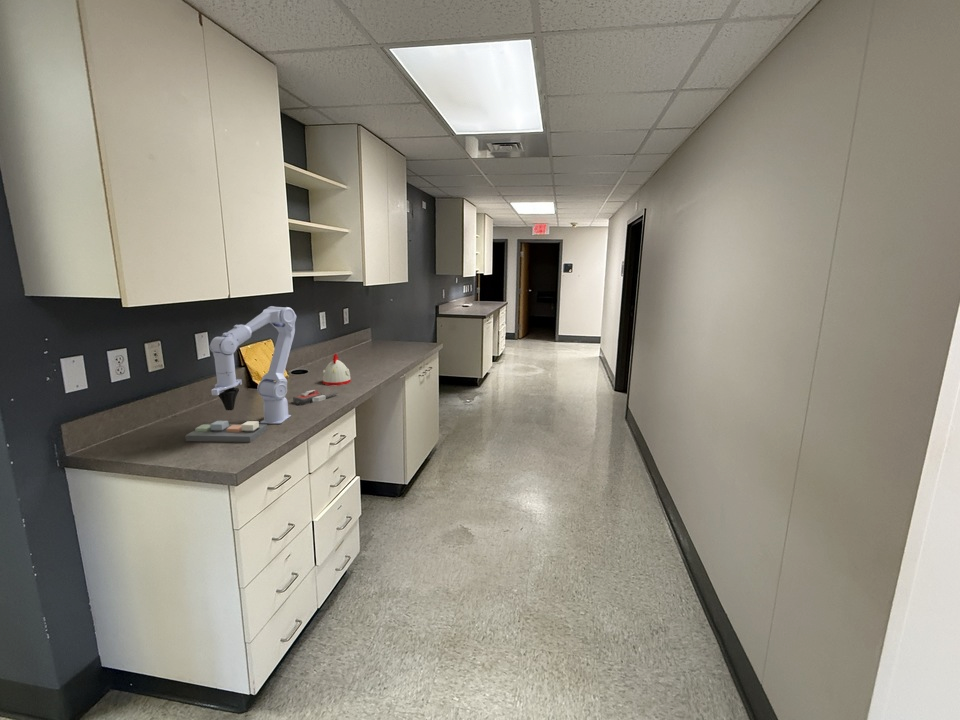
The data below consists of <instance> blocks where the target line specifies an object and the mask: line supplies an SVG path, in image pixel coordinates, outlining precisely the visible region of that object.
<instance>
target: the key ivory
mask: <svg viewBox="0 0 960 720" xmlns="http://www.w3.org/2000/svg"><path fill="white" fill-rule="evenodd" d="M241 424H242V425H241V427H242V430H244V431H245V432H246V433H253V432H255V431H256V430H257V428H258V427H259V424H260V422H259V420H255V421H254V420H251V421H250V420H247V421H246V422H244V423H241Z"/></svg>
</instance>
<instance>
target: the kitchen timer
mask: <svg viewBox="0 0 960 720" xmlns="http://www.w3.org/2000/svg"><path fill="white" fill-rule="evenodd" d="M332 357H333V358H332V360H331V361H330V362H329V363H328V364H327V366H326V367H325V369H323V372H322V384H323V385H324V384H326V385H325V386H330V385H337V386H343V384H345V385H348V384H350V383H351V382H352V379H351V372H350V369H349V368H348V367H347V366H346V364H345V363H344V362H342V361H341V360H339V357H338V353H334V355H333V356H332ZM349 382H350V383H349ZM347 383H348V384H347Z"/></svg>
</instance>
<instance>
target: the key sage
mask: <svg viewBox="0 0 960 720" xmlns="http://www.w3.org/2000/svg"><path fill="white" fill-rule="evenodd" d="M206 424H207V423H205V424H201V425H199V426H197V427H195V431H196V432H208V431H210V430H211V427H210V425H206Z"/></svg>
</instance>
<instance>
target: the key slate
mask: <svg viewBox="0 0 960 720" xmlns="http://www.w3.org/2000/svg"><path fill="white" fill-rule="evenodd" d="M209 424H210V427H211V430H214V432H223V431H225V430H226V428H227V427H228V426H229V424H230V423H229V420H216V421H213V422H212V423H209Z"/></svg>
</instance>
